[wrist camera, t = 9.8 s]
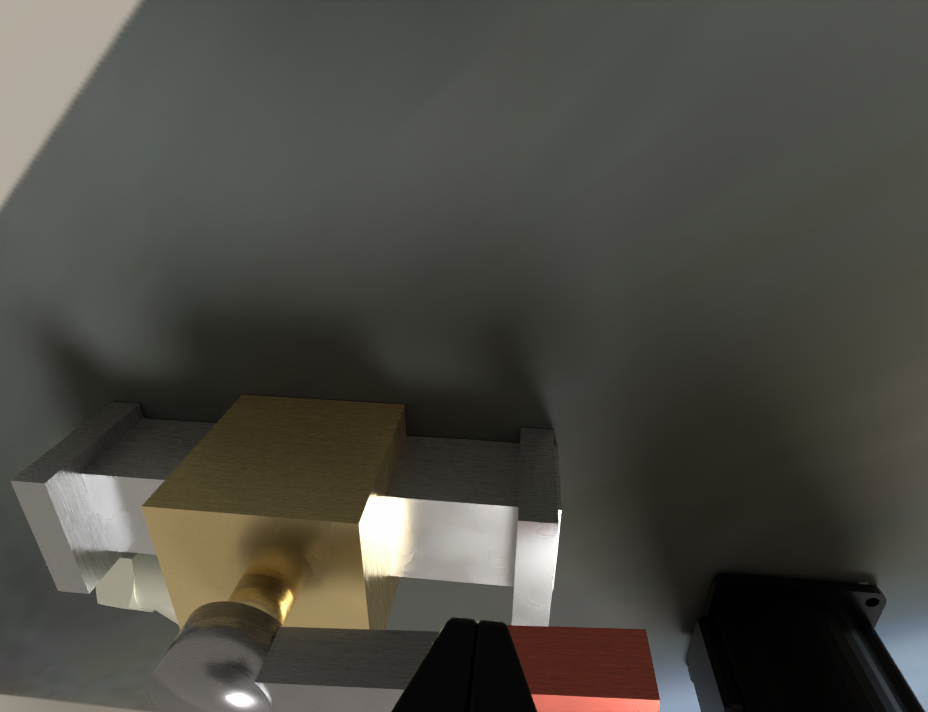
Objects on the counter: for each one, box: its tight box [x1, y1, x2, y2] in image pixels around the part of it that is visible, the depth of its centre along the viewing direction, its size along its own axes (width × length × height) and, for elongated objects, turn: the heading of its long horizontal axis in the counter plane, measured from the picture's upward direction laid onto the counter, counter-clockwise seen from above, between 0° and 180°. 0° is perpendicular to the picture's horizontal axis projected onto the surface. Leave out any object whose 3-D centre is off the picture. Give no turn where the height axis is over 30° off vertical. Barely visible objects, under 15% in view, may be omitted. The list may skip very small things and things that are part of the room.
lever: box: [148, 601, 660, 712], centre depth 15 cm, size 13×3×2 cm, turn 95°
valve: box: [11, 395, 562, 630], centre depth 20 cm, size 18×6×8 cm, turn 90°
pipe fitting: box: [96, 552, 179, 625], centre depth 25 cm, size 8×4×7 cm
